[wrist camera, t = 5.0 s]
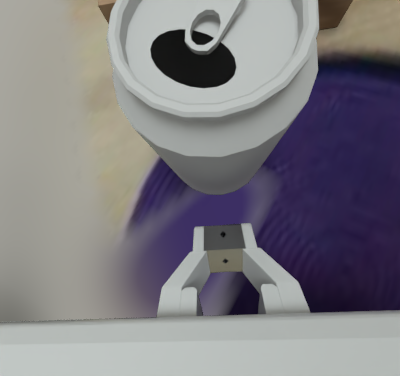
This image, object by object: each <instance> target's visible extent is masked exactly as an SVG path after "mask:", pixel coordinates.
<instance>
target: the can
mask: <svg viewBox="0 0 400 376" xmlns="http://www.w3.org/2000/svg"><path fill="white" fill-rule="evenodd" d="M318 31H319V13H318V0H117V1H116V3H115V5H114V6H113V8H112V11H111V13H110V20H109V26H108V32H107V39H106V40H107V45H108V50H109V55H110V60H111V65H112V67H113V68H114V69H113V76H112V77H113V82H114V87H115V92H116V97H117V102H118V104H119V106H120V107H121V109H122V111H123V112H124V114H125V116H126V117H127V119H128V120H129V122H130V124H131V125H132V127H133V128H134V129H135V130H136V131H137V132H138V133H139V134H140V135H141V136H142V138H143V139H144V140H145V141H146V142H147V143H148V144H149V145H150V146H151V147H152V148H153V149H154V150H155V151H156V153H157V154H158V155H159V156H160V157H161V158H162V159H163V160H164V161H165V162H166V163H167V164H168V165H169V166H170V168H171V169H172V170H173V171H174V172H175V173H176V174H177V175H178V176H179V177H180V178H181V179H182V180H183V181H184V182H185V183H186V184H188V185H189V186H190V187H191V188H193V189H194V190H197V191H199V192H202V193H205V194H212V195H223V194H227V193H230V192H234V191H237V190H238V189H240V188H241V187H243V186H244V185H246V184H247V183H249V181H250V180H251V179H252V177H253V176H254V175H255V174H256V172H257V171H258V170H259V168H260V167H261V166H262V164H263V163H264V161H265V160H266V159H267V157H268V156H269V154H270V153H271V152H272V150H273V149H274V147H275V146H276V145H277V143H278V142H279V140H280V139H281V138H282V136H283V135H284V133H285V132H286V131H287V129H288V128H289V126H290V125H291V124H292V122H293V121H294V119H295V118H296V117H297V115H298V114H299V112H300V111H301V110H302V108H303V107H304V105H305V104H306V103H307V101H308V99H309V96H310V93H311V90H312V87H313V84H314V81H315V78H316V75H317V72H318V59H317V41H316V36H317V34H318Z"/></svg>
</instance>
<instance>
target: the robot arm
mask: <svg viewBox="0 0 400 376" xmlns="http://www.w3.org/2000/svg"><path fill="white" fill-rule="evenodd" d="M237 271H243V273H244V274H245V276H246V277H247V278H248V279H249V281H250V282H251V283H252V285H253V286H254V287H255V289H256V290H257V291H258V292H259V294H260V298H259V307H258V314H251V315H217V316H203V312H202V308H201V304H200V300H199V294H200V292H201V290H202V289H203V287H204V285H205V283H206V281H207V279H208V277H209V276H210V273H216V272H237ZM0 376H400V310H387V311H354V312H320V313H311V312H310V310H309V307H308V305H307V302H306V300H305V297H304V295H303V292H302V290H301V287H300V285H299V282H298V281H297V280H296V279H294V278H293V277H292V276H291V275H290V274H289V273H288V272H287V271H286V270H284V269H283V268H282V267H281V266H280V265H279V264H278V263H277V262H275V261H274V260H273V259H272V258H271V257H270V256H269V255H268V254H267V253H265V252H264V251H263V250H262V249H261V248H257V245H256V241H255V237H254V233H253V230H252V226H251V224H250V223H243V224H231V225H222V226H221V225H220V226H202V227H195V228H194V239H193V252H190V253H189V254H188V255H187V256H186V258H185V259H184V260H183V261H182V263H181V264H180V265H179V267H178V268H177V269H176V270H175V272H174V273H173V274H172V275H171V277H170V278H169V279H168V281H167V282H166V283H165V284H164V286H163V287H162V290H161V295H160V301H159V306H158V311H157V317H151V318H119V319H84V320H54V321H16V322H0Z"/></svg>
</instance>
